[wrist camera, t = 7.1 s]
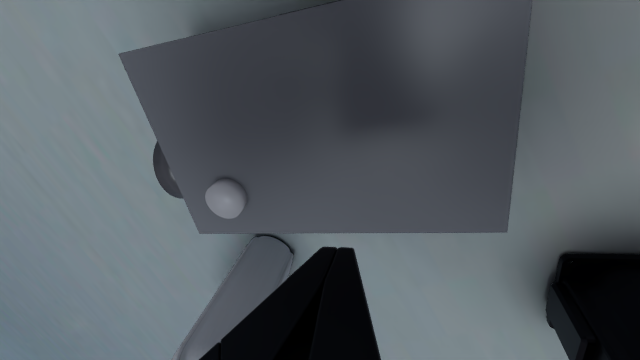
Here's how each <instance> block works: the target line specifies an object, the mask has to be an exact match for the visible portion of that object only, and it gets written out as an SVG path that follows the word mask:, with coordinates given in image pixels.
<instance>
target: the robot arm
mask: <svg viewBox="0 0 640 360" xmlns="http://www.w3.org/2000/svg"><path fill="white" fill-rule="evenodd" d="M570 261H573V262H571V263H568V262H570ZM546 313H547V322H548V324H549V326H550V327H551V328H553V329H555V331H556V333H557V335H558V337H559V339H560V341H561V344H562V346H563V348H564V350H565V352H566V354H567V356H568V358H569V360H640V255H634V254H565V255H563V256H562V257H560V259H559V264H558V268H557V273H556V278H555V282H553V283H552V284H551V286H550V291H549V296H548V300H547V305H546ZM199 360H381V358H380V353H379V349H378V345H377V341H376V337H375V333H374V329H373V325H372V321H371V317H370V313H369V308H368V304H367V300H366V296H365V292H364V288H363V284H362V280H361V276H360V272H359V268H358V263H357V259H356V255H355V251H354V249H353V248H346V247H340V248H338V249H337V248H336V247H322V248H320V249H319V250H318V251H317V252H316V253H315V254H314V255H313V256H312V257H311V258H309V259H308V260H307V261H306V262H305V263H304V264H303V265H302V266H301V267H300V268H299V269H297V270H296V271H295V272H294V273H293V274H292V275H291V276H290V277H289V278H288V279H286V280H285V281H284V282H283V283H282V284H281V285H280V286H279V287H278V288H277V289H276V290H274V291H273V292H272V293H271V294H270V295H269V296H268V297H267V298H266V299H265V300H264V301H262V302H261V303H260V304H259V305H258V306H257V307H256V308H255V309H254V310H253V311H252V312H250V313H249V314H248V315H247V316H246V317H245V318H244V319H243V320H242V321H241V322H240V323H238V324H237V325H236V326H235V327H234V328H233V329H232V330H231V331H230V332H229V333H228V334H226V335H225V336H224V337H223V338H222V339H221V343H220V342H218V343H216V344H215V345H214V346H213V347H212V348H211V349H210V350H209V351H208V352H207V353H206V354H204V355H203V356H202V357H201V358H200V359H199Z"/></svg>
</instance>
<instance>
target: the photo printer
mask: <svg viewBox="0 0 640 360" xmlns="http://www.w3.org/2000/svg"><path fill="white" fill-rule="evenodd" d="M292 260H293V254H292V253H290V250H289V248H288V247H287V246H286V245H285V244H284V243H283V242H281V241H279V240H278V239H275V238H273V237H269V236H261V237H259V238H258V237H254V238H253V239H252V240H251V241H250V242H249V244H248V245H247V246H246V248H245V249H244V251H243V252H242V254H241V255H240V257H239V258H238V260H237V261H236V263H235V264H234V266H233V267H232V269H231V270H230V272H229V273H228V275H227V276H226V278H225V279H224V281H223V282H222V284H221V285H220V287H219V288H218V290H217V291H216V293H215V294H214V296H213V297H212V299H211V300H210V302H209V303H208V305H207V306H206V308H205V309H204V311H203V312H202V314H201V315H200V317H199V318H198V320H197V321H196V323H195V324H194V326H193V327H192V329H191V330H190V332H189V333H188V335H187V336H186V338H185V339H184V341H183V342H182V344H181V345H180V347H179V348H178V350H177V351H176V353H175V354H174V356H173V358H172V359H171V360H199V359H200V358H201V357H202V356H203V355H204V354H206V353H207V352H208V351H209V350H210V349H211V348H212V347H213V346H214V345H215V344H216V343H218V342H220V343H221V339H222V338H223V337H224V336H225V335H226V334H228V333H229V332H230V331H231V330H232V329H233V328H234V327H235V326H236V325H237V324H238V323H240V322H241V321H242V320H243V319H244V318H245V317H246V316H247V315H248V314H249V313H250V312H252V311H253V310H254V309H255V308H256V307H257V306H258V305H259V304H260V303H261V302H262V301H264V300H265V299H266V298H267V297H268V296H269V295H270V294H271V293H272V292H273V291H274V290H276V289H277V288H278V287H279V286H280V285H281V284H282V283H283V282H284V281H285V280H286V279H287V277H288V275H289V272H290V269H291V265H292Z"/></svg>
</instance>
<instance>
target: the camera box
mask: <svg viewBox="0 0 640 360" xmlns="http://www.w3.org/2000/svg"><path fill="white" fill-rule="evenodd" d="M531 9H532V0H339V1H335V2H331V3H327V4H322V5H318V6H314V7H310V8H306V9H302V10H297V11H293V12H289V13H285V14H281V15H279V16H274V17H270V18H266V19H262V20H258V21H253V22H249V23H245V24H241V25H237V26H233V27H228V28H224V29H220V30H216V31H212V32H208V33H203V34H199V35H195V36H191V37H187V38H182V39H178V40H174V41H170V42H166V43H162V44H157V45H153V46H149V47H145V48H141V49H136V50H132V51H128V52H124V53H120V54H119V56H120V59H121V61H122V63H123V65H124V67H125V70H126V72H127V74H128V76H129V79H130V81H131V83H132V85H133V87H134V90H135V92H136V94H137V96H138V98H139V101H140V103H141V105H142V107H143V110H144V112H145V114H146V116H147V118H148V121H149V123H150V125H151V127H152V129H153V132H154V134H155V136H156V138H157V143H156V145H155V149H154V154H153V165H154V171H155V174H156V177H157V179H158V181H159V183H160V185H161V186H162V188H163V189H164V190H165V191H166V192H167V193H169V194H170V195H172V196H174V197H176V198H184V200H185V203H186V205H187V207H188V209H189V211H190V214H191V216H192V218H193V220H194V222H195V225H196V227H197V229H198V231H199V234H241V233H481V232H507V230H508V221H509V212H510V203H511V193H512V184H513V175H514V166H515V156H516V147H517V138H518V129H519V119H520V110H521V101H522V92H523V82H524V73H525V64H526V55H527V46H528V36H529V27H530V18H531Z"/></svg>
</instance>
